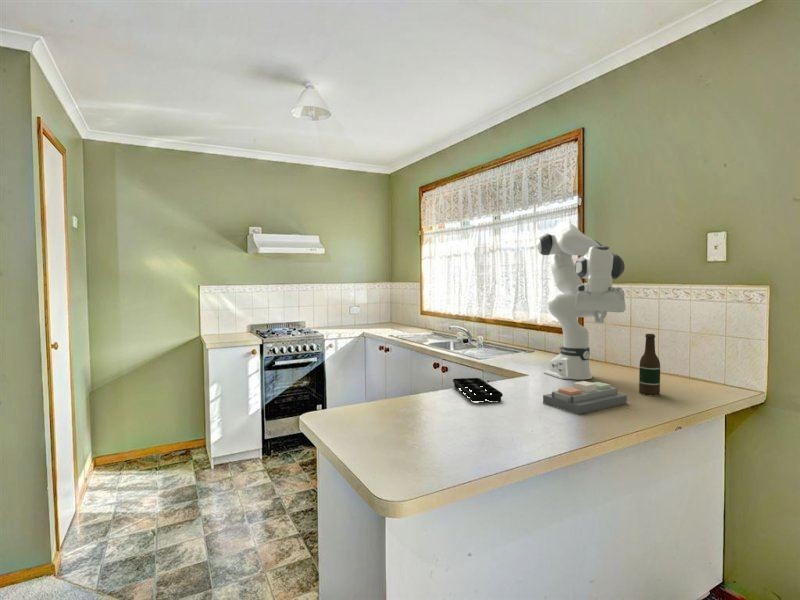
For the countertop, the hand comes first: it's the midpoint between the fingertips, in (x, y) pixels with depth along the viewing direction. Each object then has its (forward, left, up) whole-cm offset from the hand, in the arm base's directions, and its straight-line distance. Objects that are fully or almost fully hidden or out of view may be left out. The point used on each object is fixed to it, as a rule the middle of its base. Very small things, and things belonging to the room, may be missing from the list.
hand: (599, 322), depth 176 cm
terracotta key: (+4, -21, -26) cm, 34 cm away
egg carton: (-28, -39, -30) cm, 56 cm away
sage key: (+4, -5, -26) cm, 27 cm away
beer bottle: (+8, +20, -29) cm, 36 cm away
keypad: (+4, -13, -29) cm, 32 cm away
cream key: (+4, -13, -25) cm, 28 cm away
